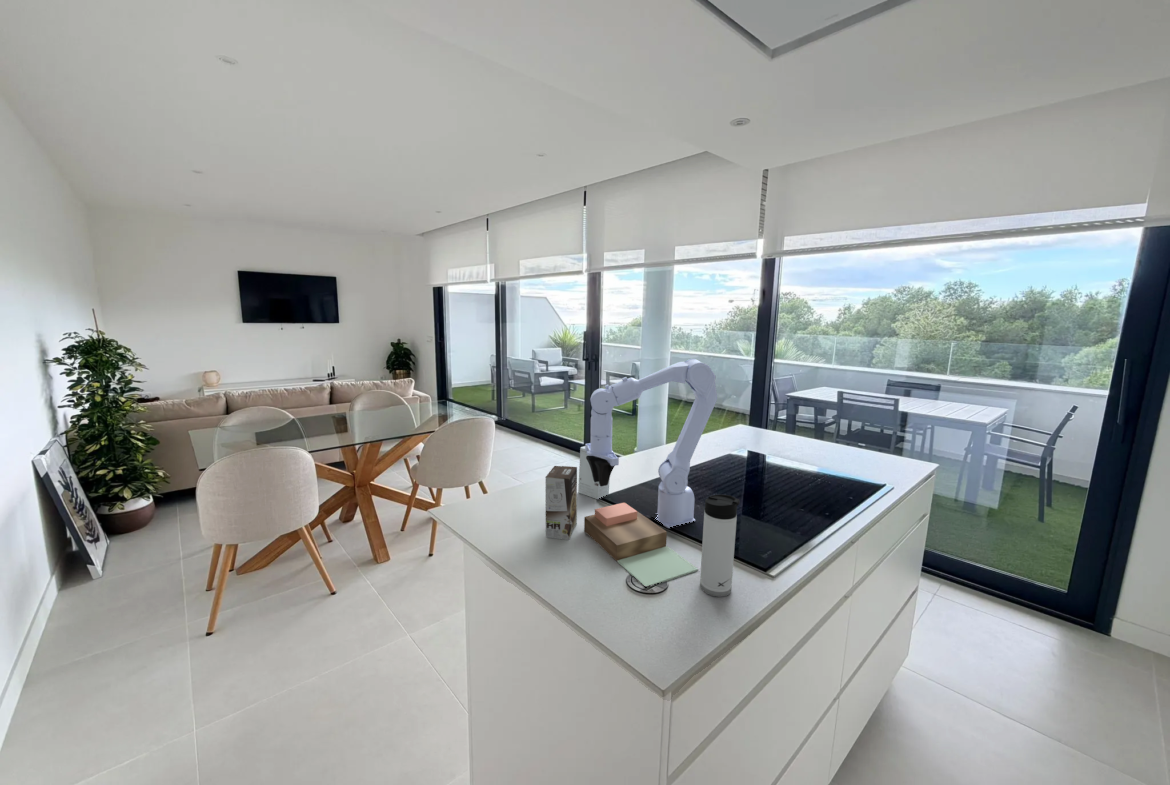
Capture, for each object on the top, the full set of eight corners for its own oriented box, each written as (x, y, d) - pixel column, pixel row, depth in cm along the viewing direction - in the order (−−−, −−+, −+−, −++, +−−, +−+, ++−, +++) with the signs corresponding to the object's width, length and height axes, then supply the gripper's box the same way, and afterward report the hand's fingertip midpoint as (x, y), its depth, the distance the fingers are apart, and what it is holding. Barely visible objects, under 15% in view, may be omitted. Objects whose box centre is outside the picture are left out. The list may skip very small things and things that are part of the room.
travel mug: (728, 601, 90) (735, 506, 86) (695, 590, 94) (701, 499, 90) (736, 585, 95) (743, 495, 92) (705, 575, 99) (710, 488, 95)
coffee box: (569, 540, 113) (569, 478, 110) (544, 537, 115) (544, 476, 112) (577, 523, 122) (578, 466, 119) (554, 521, 123) (554, 464, 120)
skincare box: (577, 493, 142) (578, 447, 139) (590, 487, 147) (590, 443, 144) (598, 500, 137) (599, 453, 134) (611, 494, 141) (611, 448, 139)
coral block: (624, 509, 122) (624, 502, 121) (637, 518, 116) (637, 511, 116) (594, 516, 118) (594, 509, 117) (606, 526, 112) (606, 518, 112)
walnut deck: (629, 520, 124) (630, 506, 124) (666, 547, 111) (666, 531, 110) (584, 531, 118) (584, 516, 117) (616, 561, 104) (617, 545, 103)
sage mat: (666, 547, 110) (667, 546, 110) (697, 570, 101) (698, 568, 101) (617, 562, 104) (617, 560, 104) (645, 588, 94) (645, 586, 94)
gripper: (575, 429, 125) (575, 476, 127) (601, 443, 112) (601, 495, 115) (598, 426, 128) (597, 472, 130) (626, 440, 115) (624, 490, 118)
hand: (600, 483), depth 123 cm, fingers open, 3 cm apart
